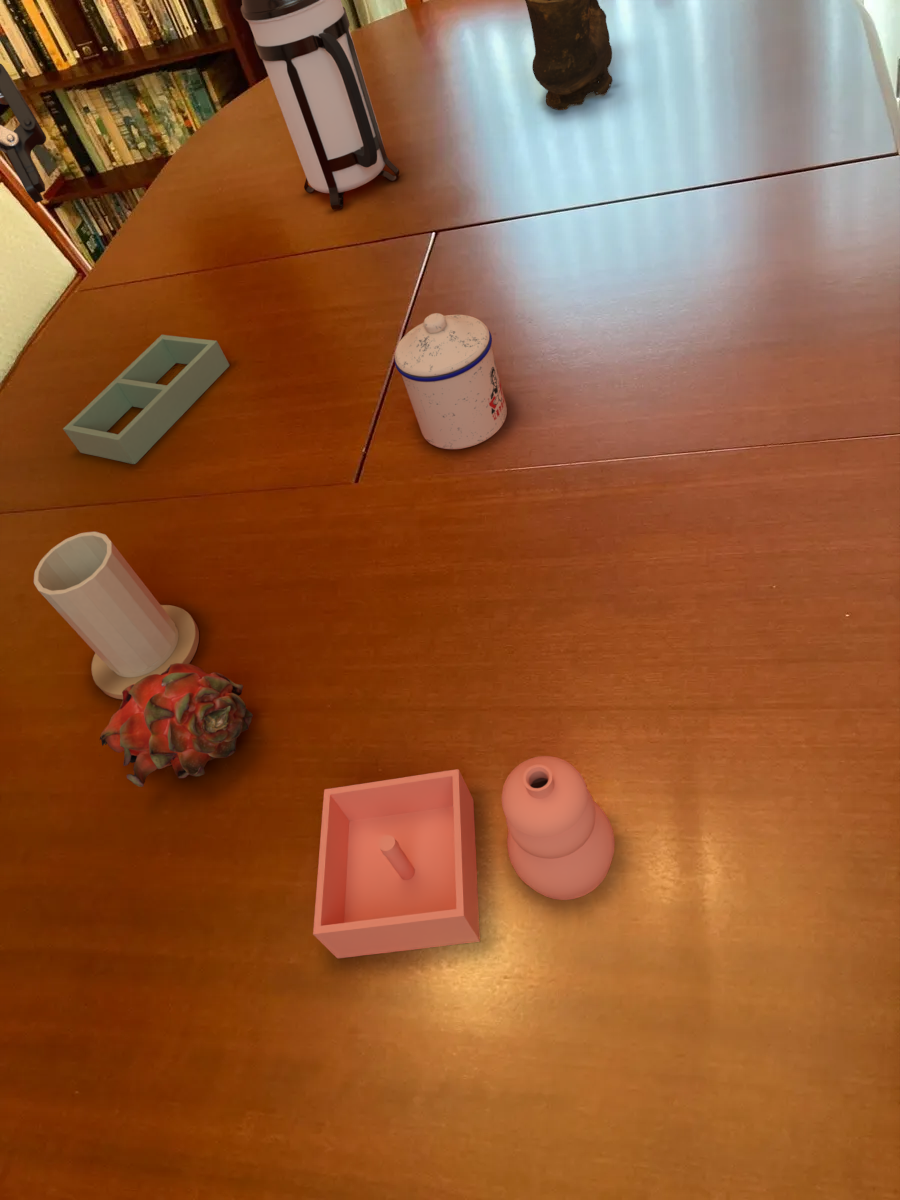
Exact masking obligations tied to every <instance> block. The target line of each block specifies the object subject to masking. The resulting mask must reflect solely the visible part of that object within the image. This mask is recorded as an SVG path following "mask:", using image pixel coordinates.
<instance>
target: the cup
mask: <svg viewBox="0 0 900 1200" xmlns="http://www.w3.org/2000/svg"><path fill="white" fill-rule="evenodd" d="M33 584H34V586H35V588H36V589H37V591H38V592H39V593H40V594H41V595H42V597H44V598H45V600H46V601H47V602H48V603H49V604H50V606H52V607H53V608H54V609H55V611H56V612H57V613H58V614H59V615H60V616H61V617H62V618H63V619H64V621H65V622H66V623H68V625H69V626H70V627H71V628H72V629H73V630H74V631H75V632H76V633H77V635H78V636H79V637H80V638H81V639H82V640H83V641H84V642H85V643H86V645H87V646H88V647H89V648H90V649H91V650H92V651H93V652H94V654H95V653H96V654H97V655H98V656H99V657H100V658H101V659H102V661H103V662H104V663H105V664H106V665H107V666H108V667H109V668H110V669H111V670H112V671H113V672H114V673H116V674H117V675H119V676H122V677H127V678H133V677H139V676H142V675H145V674H147V673H150V672H152V671H153V670H155V669H157V668H158V667H159V666H161V665H162V664H163V663H164V662H165V661H166V660H167V659H168V658H169V657H170V656H171V654H172V653H173V651H174V650H175V648H176V645H177V642H178V638H179V633H178V629H177V626H176V625H175V623H174V622H173V621H172V619H171V618H170V617H169V615H168V614H167V613H166V612H165V610H164V609H163V608H162V606H161V605H162V604H160V603H159V601H158V600H157V599H156V597H155V596H154V594H152V592H151V590H149V588H148V587H147V586H146V585H145V583H144V582H143V580H142V579H141V577H139V575H138V574H137V573H136V572H135V570H134V569H133V568H132V566H131V565H130V564H129V563H128V561H127V559H125V557H124V556H123V555H122V553H121V552H120V550H118V548H117V547H116V546H115V544H114V543H113V542H112V540H111V539H110V538H109V537H108V536H107V534H105V533H101V532H98V531H87V532H81V533H78V534H75V535H73V536H70V537H67V538H65V539H64V540H62V541H61V542H59V543H58V544H56V545H55V546H53V547H52V548H51V549H50V550H49V551H48V552H47V553H45V554H44V556H43V557H42V558H41V559H40V561H39V562H38V565H37V566H36V568H35V569H34V573H33Z"/></svg>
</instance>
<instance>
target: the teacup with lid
mask: <svg viewBox="0 0 900 1200" xmlns="http://www.w3.org/2000/svg"><path fill="white" fill-rule="evenodd" d="M492 336H493V335H492V333H491V331H490V329H489V328H488V326H487V325H486V324H485V323H484V322H483V321H482V320H481V319H479V318H476V317H474V316H472V315H471V316H470V315H467V314H447V315H444V314H442V313H439V312H435V313H430V314H429V315H428V316H426V317H425V318H424V320H423V322H422V323H420V324H418V325H416V326H415V327H413V328H412V329H410V330H409V331H408V332H407V333H405V334H404V336H402V338H401V339H400V341H399V342H398V343H397V346H396V348H395V352H394V366H395V369H396V370H397V372H398V373H399V374H400V375H401V378H402V381H403V383H404V386H405V389H406V393H407V395H408V398H409V401H410V403H411V407H412V409H413V412H414V415H415V418H416V420H417V424H418V426H419V429H420V432H421V435H422V437H423V438H424V439H425V441H427V442H428V443H429V444H430V445H432V446H434V447H436V448H439V449H442V450H461V449H467V448H470V447H474V446H476V445H480V444H481V443H483V442H485V441H487V440H489V439H490V438H492V437H493V436H495V434H496V433H497V432H498V431H499V430H500V429H501V428H502V427H503V425H504V424H505V421H506V419H507V415H508V408H507V403H506V399H505V395H504V391H503V387H502V384H501V380H500V376H499V371H498V368H497V363H496V360H495V355H494V351H493V347H492V342H493V337H492Z"/></svg>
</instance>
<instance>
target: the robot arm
mask: <svg viewBox="0 0 900 1200" xmlns="http://www.w3.org/2000/svg"><path fill="white" fill-rule="evenodd" d="M26 101H27V100H26V99H25V98H24V96H23V94H22V93H21V91H20V89H19V88H18V86H17V84H16V82H15V81H14V79H13V78H12V77H11V75H10V73H9V72H8V71H7V69H6V68H5V66H4V65H3V64H2V63H0V105H5V106H7V105H8V106H9V108H10V109H11V111H12V113H13V114H14V116H15V118H16V120H17V121H18V124H19V125H18V126H17V127H16V128H15V129H14V130H11V129H9V128H8V127H6V126H4V125H2V124H0V152H3V153H4V154H6V155H7V157H8V158H9V160H10V162H11V164H12V167H13V169H14V170H15V173H16V174H17V177H18V178H19V180H20V182H21V184H22V186H23V188H24V190H25V192H26V193H27V195H28V196H29V197H30V199H31V200H32V201H33V202H34V203H35V204H38V203H40V202H42V201H44V198H43V196H42V194H41V193H43V192H44V193H45V192H46V185H45V182H44V180H43V178H42V176H41V174H40V172H39V170H38V168H37V166H36V164H35V162H34V161H33V158H32V152H33V150H34V148H35V147H36V146H42V145H44V144H45V143H46V141H47V136H46V134H45V131H44V130H43V128H42V127H41V125H40V123H39V121H38V120H37V118H36V116H35V115H34V113H33V112H32V110H31V108H30V106H29V105H28V103H27V102H26Z"/></svg>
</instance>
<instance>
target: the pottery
mask: <svg viewBox="0 0 900 1200" xmlns="http://www.w3.org/2000/svg"><path fill="white" fill-rule="evenodd" d="M322 800H323V802H322V813H321V825H320V826H321V827H320V840H319V854H318V867H317V879H316V890H315V891H316V892H315V906H314V918H313V930H312V931H313V932H312V935H313V937H315V938H316V939H317V940H318V941H319V942H320V943H321V944H322V945H323V946H324V947H325V948H326V949H327V950H328V951H329V952H330V953H331V954H332V955H333V956H335V958H337V959H345V958H352V957H361V956H362V957H363V956H371V955H378V954H388V953H395V952H405V951H413V950H421V949H428V948H429V949H430V948H437V947H447V946H455V945H464V944H471V943H480V942H481V934H480V933H481V932H480V912H479V888H478V870H477V869H478V868H477V867H478V865H477V847H476V827H475V826H476V825H475V805H474V804H475V803H474V798H473V796H472V793H471V792H470V790H469V788H468V785H467V784H466V782H465V780H464V778H463V775H462V773H461V771H460V769H458V768H457V769H451V770H443V771H437V772H430V773H424V774H418V775H411V776H405V777H404V776H403V777H398V778H391V779H385V780H378V781H372V782H365V783H358V784H351V785H345V786H338V787H332V788H331V787H330V788H325V789H323V799H322ZM501 807H502V812H503V814H504V816H505V824H506V826H507V831H508V832H507V837H506V838H507V839H506V844H507V854H508V857H509V861H510V864H511V865H512V867H513V870H514V872H515V874H516V875H517V876H518V877H519V878H520V880H521V881H522V882H523V883H525V884H526V885H527V886H528V887H529V888H531V889H532V890H533V891H535V892H537V893H538V894H540V895H541V896H544V897H546V898H550V899H553V900H560V901H568V900H575V899H578V898H581V897H584V896H586V895H588V894H590V893H591V892H593V891H594V890H595V889H596V888H597V887H599V886H600V884H602V882H603V881H604V880H605V879H606V877H607V875H608V872H609V871H610V868H611V865H612V861H613V858H614V855H615V844H616V842H615V835H614V830H613V827H612V824H611V821H610V819H609V818H608V816H607V814H606V813H605V811H604V809H602V807H600V805H599V804H598V803H597V802H596V801H595V800H594V798H593V796H592V793H590V791H589V789H588V787H587V784H586V781H585V779H584V777H583V776H582V774H581V773H580V771H578V770H577V768H575V766H573V764H572V763H570V762H569V761H567V760H565V759H562V758H561V757H557V756H553V755H539V756H534V757H532V758H528V759H526V760H524V761H522V762H520V763H519V764H517V766H515V767H514V768H513V769H512V770H511V771H510V772H509V774H508V776H507V777H506V779H505V781H504V783H503V787H502V792H501Z"/></svg>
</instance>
